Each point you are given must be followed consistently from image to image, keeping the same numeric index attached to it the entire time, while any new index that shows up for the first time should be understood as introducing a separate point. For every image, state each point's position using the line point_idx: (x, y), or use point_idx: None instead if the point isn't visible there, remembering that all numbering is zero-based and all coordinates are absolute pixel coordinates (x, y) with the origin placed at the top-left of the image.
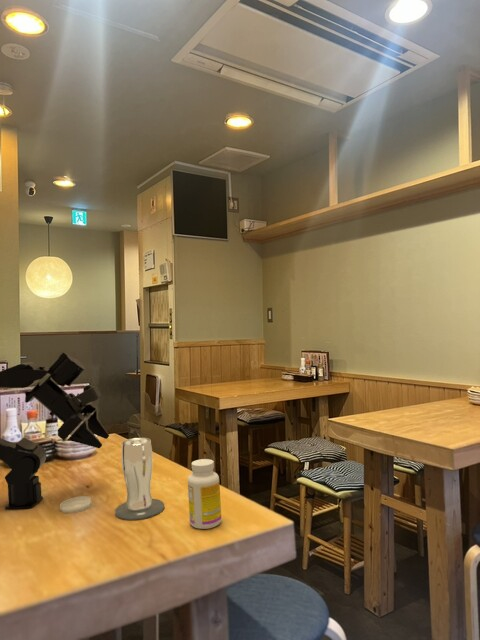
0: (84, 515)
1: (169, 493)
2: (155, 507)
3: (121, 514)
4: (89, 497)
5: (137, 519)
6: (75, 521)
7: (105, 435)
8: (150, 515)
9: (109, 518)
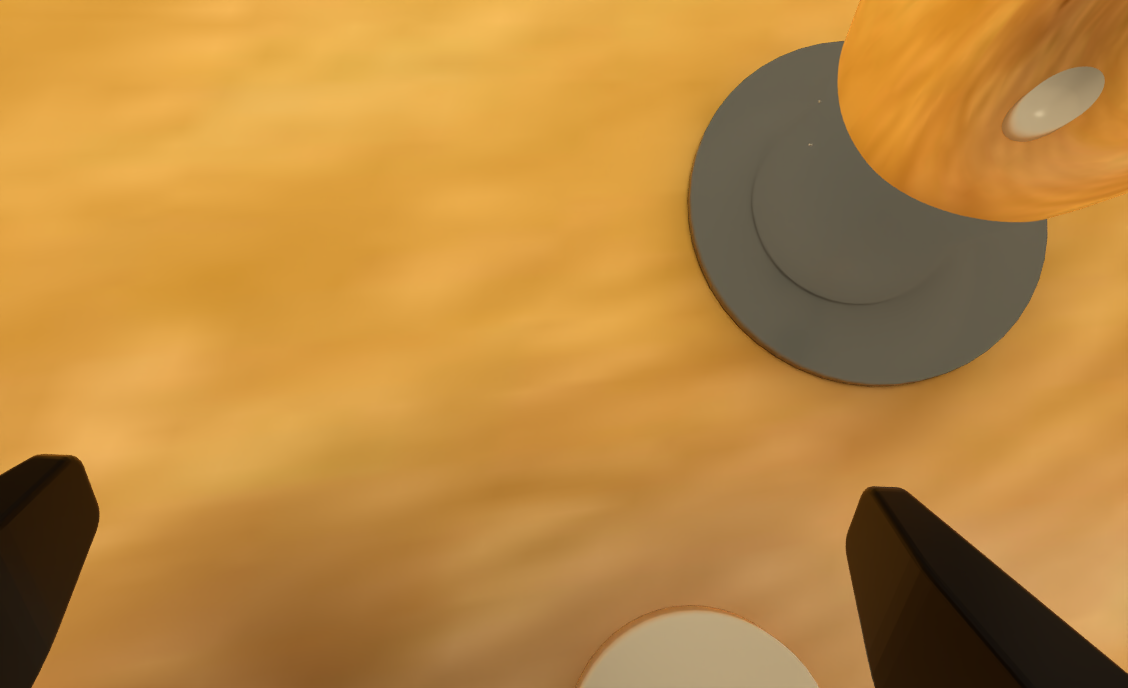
0: None
1: (573, 16)
2: None
3: (979, 326)
4: (634, 641)
5: None
6: None
7: (58, 536)
8: None
9: (973, 417)
